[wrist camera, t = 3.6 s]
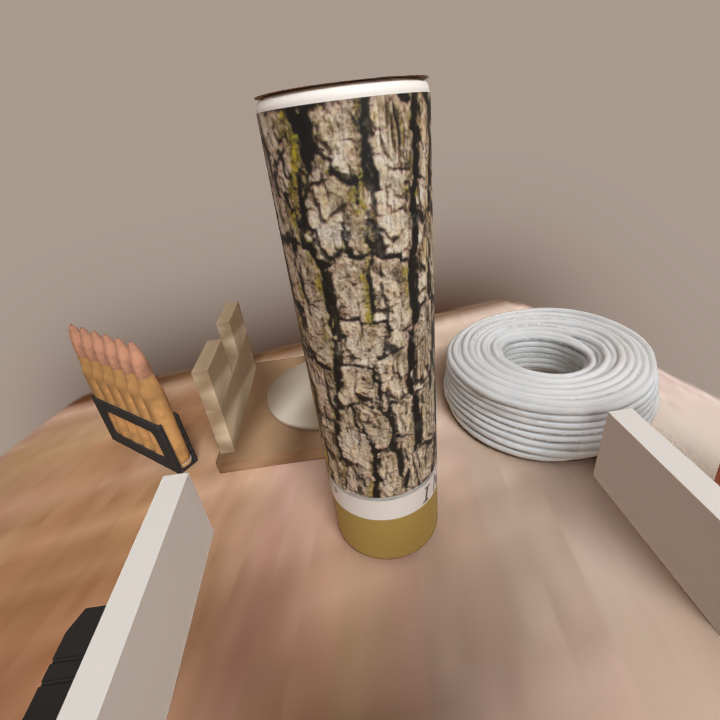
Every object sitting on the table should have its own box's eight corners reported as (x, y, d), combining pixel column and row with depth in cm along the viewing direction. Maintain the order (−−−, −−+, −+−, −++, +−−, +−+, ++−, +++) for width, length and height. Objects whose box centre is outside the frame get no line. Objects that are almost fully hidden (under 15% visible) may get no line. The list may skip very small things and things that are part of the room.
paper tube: (349, 578, 25) (252, 90, 13) (331, 494, 31) (253, 104, 18) (454, 549, 26) (460, 68, 14) (418, 473, 32) (399, 88, 19)
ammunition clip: (198, 460, 36) (149, 338, 30) (181, 475, 34) (125, 350, 29) (129, 427, 41) (76, 318, 35) (112, 438, 40) (53, 327, 34)
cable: (603, 351, 44) (615, 299, 41) (700, 471, 29) (729, 403, 26) (438, 357, 47) (438, 308, 44) (451, 470, 32) (452, 408, 29)
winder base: (220, 473, 34) (184, 380, 30) (247, 373, 48) (226, 299, 43) (410, 445, 35) (404, 349, 30) (383, 354, 48) (376, 279, 44)
